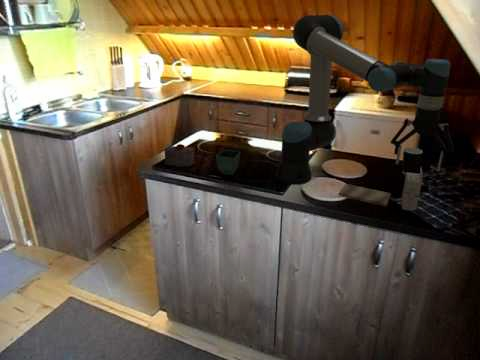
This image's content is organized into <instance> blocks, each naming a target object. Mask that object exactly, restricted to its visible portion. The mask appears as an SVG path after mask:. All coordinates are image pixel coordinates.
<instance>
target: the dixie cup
mask: <svg viewBox="0 0 480 360" xmlns="http://www.w3.org/2000/svg"><path fill="white" fill-rule="evenodd" d="M402 151H403V154H402V167H401V171H402V175H405V176H406V173H407V172H408V173H416V170H417V167H418V164H419V162H420V159H421V157H422V154H423V149H420V148H417V147H408V146H406V147H403V149H402Z"/></svg>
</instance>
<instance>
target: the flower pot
mask: <svg viewBox="0 0 480 360" xmlns="http://www.w3.org/2000/svg"><path fill="white" fill-rule="evenodd" d="M240 158H241V151H238V150H227V149H221V150H220V151H219V152H218V153H217V154H216V156H215V160H216V165H217V169H218V171H219V172H220V173H221V175H226V176H233V175H234V174H235V172H236V171H237V170H238V167H239V164H240Z"/></svg>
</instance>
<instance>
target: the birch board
mask: <svg viewBox="0 0 480 360" xmlns="http://www.w3.org/2000/svg"><path fill="white" fill-rule="evenodd" d="M338 195H342V196H345V197H344V198H346V197H347V199H352V200H356V201H360V202H365V203H367V204H368V203H369V204H373V205H378V206H382V207H387V206H388V204H389V201H390V198H391V196H392V193H391V192H385V191H382V190H381V191H380V190H378V189H372V188H367V187H362V186H358V185H353V184H349V183H345V184H344V185H343V186H342V188H341V189H340V191H339V192H338ZM342 196H341V197H342Z"/></svg>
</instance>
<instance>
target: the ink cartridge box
mask: <svg viewBox="0 0 480 360" xmlns="http://www.w3.org/2000/svg"><path fill="white" fill-rule="evenodd" d="M419 171H420V172H419V173H416V172H415V173H408V172H407V173H406V175H405V180H404V184H403V189H402V195H401V199H400V200H402V202H401V209H402V211H403V210H404V211H410V210H417V207H418V201H419V198H420V192H421V188H422V183H423V175H424V174H423V169H422V167H420V169H419Z"/></svg>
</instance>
